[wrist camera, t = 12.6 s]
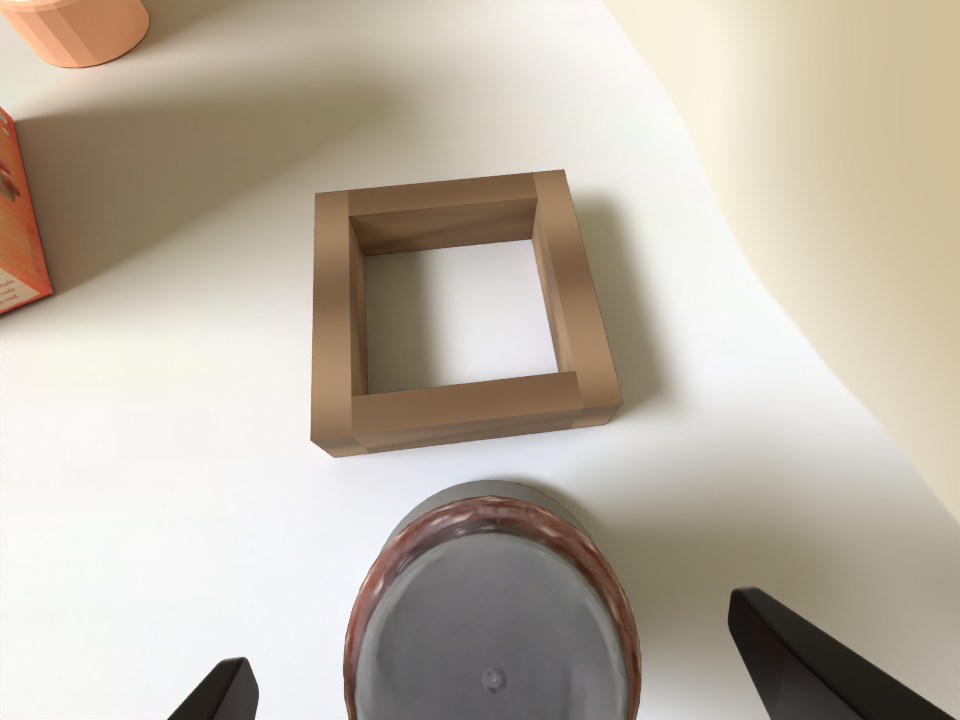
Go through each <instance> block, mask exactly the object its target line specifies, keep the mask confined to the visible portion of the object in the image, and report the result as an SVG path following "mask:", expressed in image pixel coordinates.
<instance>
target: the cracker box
mask: <svg viewBox="0 0 960 720" xmlns="http://www.w3.org/2000/svg"><path fill="white" fill-rule="evenodd" d="M52 292H53V290H52V288H51V284H50V280H49V276H48V273H47V267H46V263H45V259H44V254H43V250H42V245H41V242H40V238H39V234H38V229H37V225H36V220H35V216H34V211H33V207H32V203H31V198H30V194H29V189H28V185H27V181H26V176H25V172H24V167H23V163H22V158H21V154H20V149H19V146H18V140H17V136H16V132H15V127H14V123H13V120H12V118H11V117H10V116H9V115H8V114H7V113H6V112H5V111H4V110H3V109H2V108H1V107H0V314H1V313H3V312H6V311H8V310H11V309H13V308H16V307H18V306H21V305H23V304H26V303H28V302H31V301H34V300H36V299H39V298H41V297H44V296H46V295H49V294H51V293H52Z"/></svg>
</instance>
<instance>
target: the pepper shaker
mask: <svg viewBox="0 0 960 720" xmlns="http://www.w3.org/2000/svg"><path fill="white" fill-rule="evenodd" d="M0 13H1V14H2V15H3V16H4V17H5V18H6V20H7V21H8V22H9V23H10V24H11V25H12V26H13V28H14V29H15V30H16V31H17V32H18V33H19V34H20V36H21V37H22V38H23V39H24V40H25V41H26V43H27V44H28V45H29V46H30V47H31V48H32V49H33V51H34V52H35V53H36V54H37V55H38V56H39V57H40V58H42V59H43V60H44V61H46V62H47V63H50V64H53V65H57V66H60V67H76V68H81V67H86V66H92V65H98V64H101V63H104V62H107V61H109V60H112V59H115V58H117V57H119V56H121V55H122V54H124V53H126V52H127V51H129V50H131V49H132V48H133V47H134V46H135V45H136V44H137V43H138V42H139V41H140V40H141V39H142V38H143V37H144V36H145V34H146V32H147V30H148V28H149V14H148V13H147V11H146V9H145V8H144V6H143V4H142V3H141V1H140V0H0Z"/></svg>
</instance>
